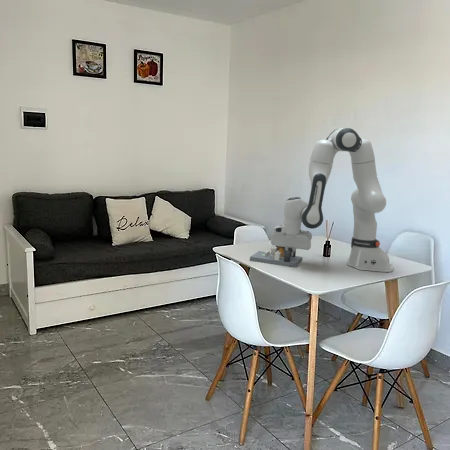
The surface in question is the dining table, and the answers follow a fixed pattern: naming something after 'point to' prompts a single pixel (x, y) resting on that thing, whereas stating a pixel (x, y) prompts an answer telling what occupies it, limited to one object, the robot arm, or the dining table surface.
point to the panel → (271, 260)
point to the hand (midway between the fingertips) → (289, 255)
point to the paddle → (281, 252)
